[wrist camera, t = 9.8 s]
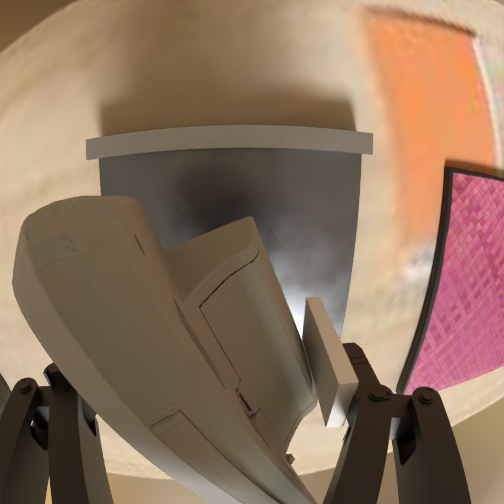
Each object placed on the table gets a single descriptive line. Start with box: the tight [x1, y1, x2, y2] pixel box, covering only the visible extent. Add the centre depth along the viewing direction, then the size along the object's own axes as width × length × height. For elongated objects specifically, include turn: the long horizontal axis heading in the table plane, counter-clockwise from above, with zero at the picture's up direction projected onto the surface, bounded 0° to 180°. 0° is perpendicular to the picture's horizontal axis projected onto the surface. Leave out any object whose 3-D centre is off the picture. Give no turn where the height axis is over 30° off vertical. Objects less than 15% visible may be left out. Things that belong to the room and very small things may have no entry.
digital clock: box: [12, 196, 318, 504], centre depth 10 cm, size 16×9×11 cm, turn 10°
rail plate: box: [86, 125, 373, 339], centre depth 22 cm, size 20×21×3 cm
